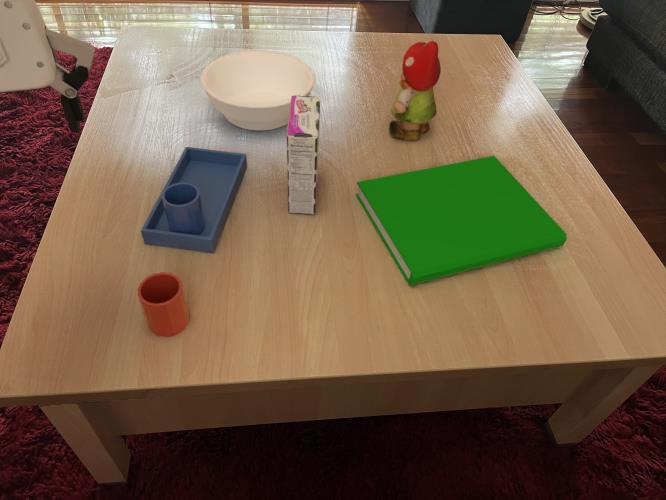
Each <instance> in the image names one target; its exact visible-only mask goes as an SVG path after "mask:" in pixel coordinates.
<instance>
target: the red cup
mask: <svg viewBox="0 0 666 500" xmlns="http://www.w3.org/2000/svg"><path fill="white" fill-rule="evenodd" d="M136 291H137V298H138V301H139V304H140V306H141V309H142V312H143V315H144V318H145V322H146V324H147V327H148V328H149V330H150V332H152V334H154V335H156V336H159V337H165V338H168V337H172V336H176V335H179V334H181V332H183V331H184V330H185V329H186V328H187V326H188V324H189V322H190V311H189V307H188V302H187V298H186V294H185V290H184V286H183V282H182V280H181V279H180V278H179V276H177V275H176V274H174V273H173V272H167V271H166V272H165V271H161V272H155V273H152V274H150V275H148V276H146V277H145V278H144V279H143V280H141V282H140V283H139V285H138V287H137V290H136Z"/></svg>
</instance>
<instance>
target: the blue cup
mask: <svg viewBox="0 0 666 500" xmlns="http://www.w3.org/2000/svg"><path fill="white" fill-rule="evenodd" d="M162 201H163V205H164V209H165V213H166V217H167V222H168V226H169V229H170V232H176V233H183V234H191V235H200V234H201V233H202V232H203V230H204V228H205V222H204V216H203V210H202V204H201V198H200V192H199V189H198V188H197V187H196V186H195V185H193V184H191V183H185V182H182V183H175V184H173V185H170V186H168V187H167V188H166V189H165V190H164V191H163V193H162Z"/></svg>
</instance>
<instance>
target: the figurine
mask: <svg viewBox="0 0 666 500" xmlns="http://www.w3.org/2000/svg"><path fill="white" fill-rule="evenodd" d="M402 59H403V60H402V64H401V65H402V66H401V67H402V68H401V69H402V72H401V74H400V81H399V82H398V83H399V86H400V88H399V89H398V92H397V95H396V98H395V101H394V102H393V105H392V106H391V108H390V112H391V114H392V116H393V117H394V118H395V120H390V121H389V124H388V130H389V133H390V135H391V136H392V137H394V138H396V139H400V140H404V141H417V140H419V139H420V138H421V135H422V134H426V133H427V132H428V131H429V130H430V121H432V119H434V118H435V117H436V115H437V104H436V99H435V92H434V87H435V86H436V85H437V84H438V81H439V79H440V76H441V71H442V70H441V68H442V67H441V61H440V57H439V45H438V43H437V42H436V41H434V40H431V41H428V42H424V41H423V42H422V41H419V42H415V43H413V44H412V45H410V46H409V48H408V49H407V50H406V51H405V53H404V55H403V58H402ZM396 119H397V120H396Z"/></svg>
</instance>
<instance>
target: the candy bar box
mask: <svg viewBox="0 0 666 500" xmlns="http://www.w3.org/2000/svg"><path fill="white" fill-rule="evenodd" d="M320 122H321V97H320V96H299V95H295V96H292V97H291V105H290V114H289V121H288V123H287V128H286V129H287V130H286V149H287V150H286V156H287V157H286V160H287V161H286V163H287V204H288V205H287V207H288V208H287V210H288V214H293V215H311V216H312V215H313V216H314V215H316V211H317V210H316V209H317V199H318V182H319V181H318V179H319V177H318V175H319V152H320V151H319V147H320V126H321V125H320Z"/></svg>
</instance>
